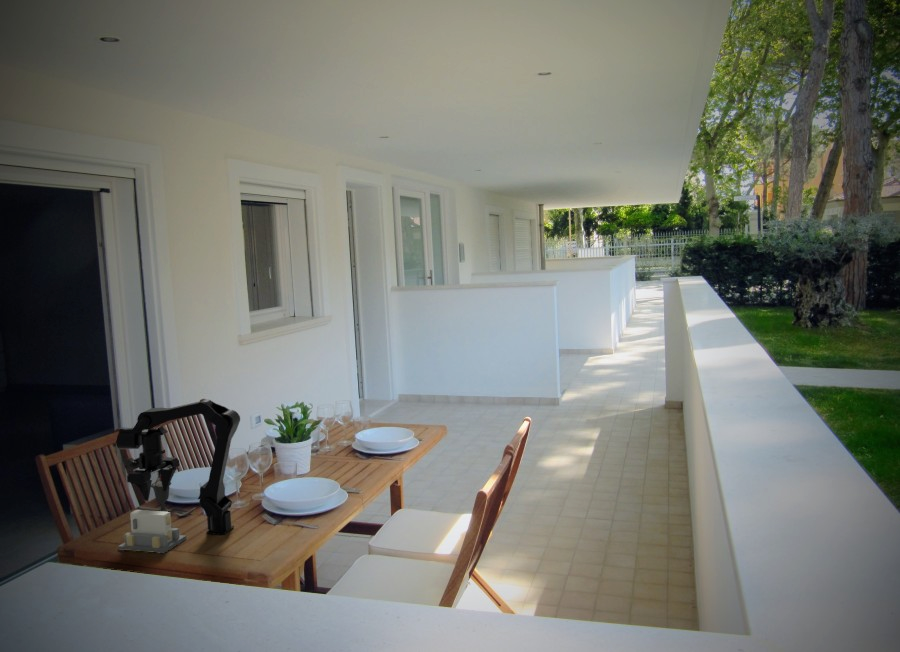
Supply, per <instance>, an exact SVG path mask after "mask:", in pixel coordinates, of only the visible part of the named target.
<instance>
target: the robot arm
mask: <svg viewBox="0 0 900 652" xmlns="http://www.w3.org/2000/svg"><path fill="white" fill-rule="evenodd" d="M197 415H202V416H203V417H205V418H206V419H207V421H208V422H210V424H213V425H214V433H215V437H216V441H215V442H216V443H215V446H214V452H213V455H212V456H213V457H212V462H211V467H210V471H209V476H208V481H206V482H204V484H202V485H201V486H200V489H199V495H198V498H197V500H198V501H199V503H198V504H199V507H201V508H202V509H203V511H204V513H205V516H206V520H207V523H206V524H207V530H206V532H205V534H208V535H220V536H223V535H225V534H227V533H228V532H230V531H232V530H233V529H234V528H235V525H232V516H231V515H232V514H231V510H229V509H230V508H232V504H233V501H232V500H231V499H230V498H229V497H227V495H225V494H226V493H225V492H226V491H225V490H226V487H225V483H224V479H225V478H224V477H225V473H226V469H227V468H226V467H227V464H228V463H227V462H228V457H229V452H230V450H231V449H230V447H231V444H232V443H231V442H232V439H233V437H234V435H235V433H236V432H237V430H238V427H239V424H240V422H241V415H239V413H238V412H237V411H236V410H234V409H229V408H228V407H226V406H223V405H221V404H219V403H217V402H215V401H212V399H207V398H206V399H205V398H204V399H203V400H201V401H200V400H199V401H196V402H192V403H191V402H190V403H186V404H183V405H178V406H174V407H173V406H172V407H152V408H149V409H147V410H144V411H143V412H140V413H139V415H138V416H137V419H136V421H137V422H136V423H135V424H134V426H133V427H121V428H119V429H118V434H117V436H116V440H115V444H116V447H117V448H118V450H137V449H140V448H141V446H142V452H140V453H139V457H136V458H133V457H129V458H127V459H125V460H124V468H125V469H126V470H127V471H128V470H129V471H130V472H129V473H128V474H127V475H126V482H127V483H130V485H131V484H133V485H134V486H136V487H137V489H138V490H139V492H140V494H141V496H142V497H143V500H144V501H145V502H147V501H149V499H150V495H151V488H152V487H151V485H152V484H153V483H152V481H153V479H151V478H152V475H153V474H155V473H157V472H158V474H159V476H161V481H162V487H163V491H167V489H168V487H169V488H170V486H169V484H170V482H171V481H172V480H173V477H174V476H175V472H176V471H177V470H178V467H180V459H178V458H177V457H170V456H169V457H166V456H165V457H163V454H166V449H163V447H162V446H163V444H162V443H163V442H162V436H164V435H165V434H167V433H169V432H168V430H167V429H165V428H164V427H163V426H160V425H162V424H165V423H167V422H169V421H174V420H180V419H184V418H188V417H192V416H193V417H194V416H197ZM158 426H159V427H158ZM155 427H157V428H155ZM145 430H147V431H145ZM171 483H172V482H171Z"/></svg>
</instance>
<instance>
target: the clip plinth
mask: <svg viewBox="0 0 900 652" xmlns="http://www.w3.org/2000/svg"><path fill="white" fill-rule="evenodd" d="M171 528H172V541H170V542H169V543H168V540H167V535H153V534H140V533H132V532H126V533H125V534H124V537H123V538H124V542H123V543H121V544H120V545H117V550H118V549H131V550H140V551H154V552H160V553H164V554H166V553H167V552H169V551H170V550H173V547H174V546H175V547H177V546H178V545H180V544H181V543H183V542H185V541H186V540H187V535H184V534H180V528H179V527H177V528H175V527H171ZM176 545H177V546H176ZM175 547H174V548H175ZM168 550H169V551H168ZM166 551H167V552H166ZM165 552H166V553H165ZM160 553H159V554H160Z"/></svg>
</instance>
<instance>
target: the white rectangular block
mask: <svg viewBox="0 0 900 652" xmlns="http://www.w3.org/2000/svg"><path fill="white" fill-rule="evenodd" d="M129 514H130V515H129V516H130V527H131V529H130V530H131V533H140V534H153V535H167V540H168V543H169V542H170V541H172V528H173V527H172V518H171V517H172V516H171V512H165V511H159V510H150V509H149V510H147V509H134V510H133V511H131V512H130V513H129Z"/></svg>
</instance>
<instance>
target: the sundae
mask: <svg viewBox="0 0 900 652" xmlns="http://www.w3.org/2000/svg"><path fill="white" fill-rule="evenodd" d="M171 485H172V482H170V484H169V487H168V489H167V491H163V487H162V481H161V475H159V476H158V477H157V478H156V480H155V482H153V483H151V488H152V489H153V492H154V497H155V500H156V501H157V502H158V503H160V509H159V510H160V511H165V512H168V511H169V510H170V509H169V510H168V508H166V506H165V504H166V502H167V501H168V499H169V495H170V486H171Z"/></svg>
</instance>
